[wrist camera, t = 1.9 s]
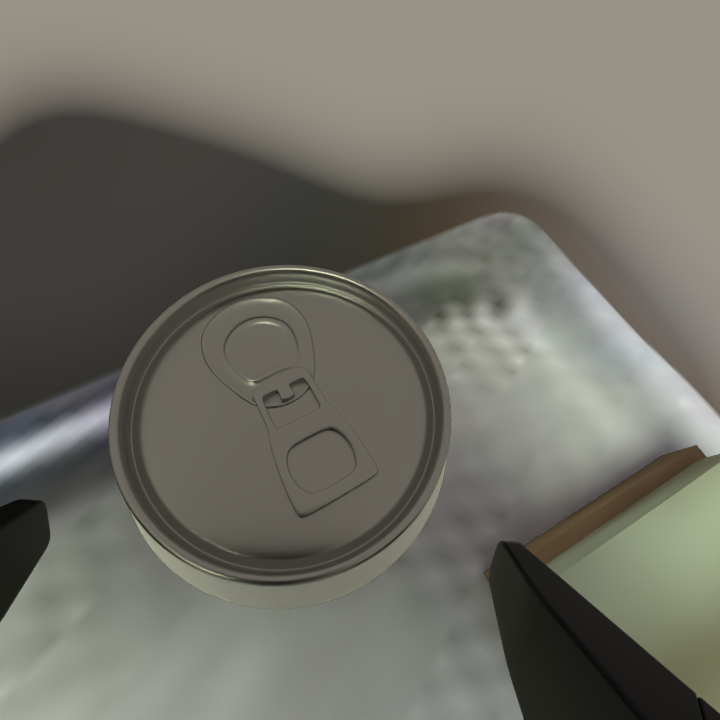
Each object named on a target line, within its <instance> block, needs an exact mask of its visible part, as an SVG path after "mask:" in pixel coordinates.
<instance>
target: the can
mask: <svg viewBox="0 0 720 720" xmlns="http://www.w3.org/2000/svg"><path fill="white" fill-rule="evenodd" d="M108 432H109V450H110V457H111V463H112V467H113V471H114V475H115V478H116V481H117V484H118V486H119V489H120V491H121V494H122V496H123V498H124V500H125V502H126V504H127V506H128V507H129V509H130V511H131V513H132V516H133V518H134V520H135V522H136V524H137V526H138V528H139V530H140V532H141V534H142V535H143V537H144V539H145V540H146V541H147V543H148V544H149V546H150V547H151V548H152V550H153V551H154V552H155V553H156V555H157V556H158V557H159V558H160V559H161V560H162V561H163V562H164V563H165V564H166V565H167V566H168V567H169V568H170V569H171V570H172V571H173V572H175V573H176V574H177V575H178V576H180V577H181V578H182V579H184V580H185V581H187V582H188V583H190V584H191V585H193V586H194V587H196V588H198V589H200V590H202V591H204V592H206V593H208V594H210V595H212V596H215V597H217V598H220V599H222V600H225V601H229V602H232V603H235V604H239V605H243V606H248V607H255V608H263V609H292V608H301V607H307V606H312V605H317V604H321V603H324V602H327V601H331V600H334V599H336V598H339V597H341V596H344V595H346V594H348V593H350V592H352V591H354V590H356V589H358V588H360V587H362V586H363V585H365V584H367V583H368V582H370V581H371V580H373V579H374V578H376V577H377V576H379V575H380V574H381V573H382V572H384V571H385V570H386V569H387V568H388V567H390V566H391V565H392V564H393V563H394V562H395V561H396V560H397V559H398V558H399V557H400V556H401V555H402V554H403V553H404V552H405V551H406V550H407V549H408V547H409V546H410V545H411V544H412V542H413V541H414V540H415V538H416V537H417V536H418V534H419V533H420V531H421V530H422V528H423V527H424V525H425V523H426V521H427V520H428V518H429V516H430V514H431V512H432V510H433V507H434V505H435V503H436V500H437V498H438V495H439V492H440V488H441V485H442V481H443V477H444V472H445V466H446V457H447V453H448V448H449V442H450V434H451V405H450V397H449V391H448V386H447V382H446V378H445V375H444V372H443V369H442V366H441V364H440V361H439V359H438V357H437V355H436V353H435V351H434V349H433V347H432V345H431V344H430V342H429V340H428V339H427V337H426V336H425V334H424V333H423V331H422V330H421V329H420V327H419V326H418V325H417V324H416V322H415V321H414V320H413V319H412V318H411V317H410V316H409V315H408V314H407V313H406V312H405V311H404V310H403V309H402V308H401V307H400V306H399V305H397V304H396V303H395V302H394V301H393V300H391V299H390V298H389V297H387V296H386V295H384V294H383V293H381V292H380V291H378V290H377V289H375V288H373V287H371V286H370V285H368V284H366V283H364V282H362V281H359V280H357V279H355V278H352V277H350V276H347V275H344V274H341V273H338V272H335V271H331V270H326V269H322V268H316V267H310V266H299V265H275V266H265V267H257V268H252V269H247V270H243V271H239V272H236V273H232V274H229V275H226V276H223V277H221V278H218V279H216V280H213V281H211V282H209V283H207V284H205V285H203V286H201V287H199V288H197V289H195V290H194V291H192V292H190V293H189V294H187V295H185V296H184V297H182V298H181V299H180V300H178V301H177V302H176V303H174V304H173V305H172V306H170V307H169V308H168V309H167V310H166V311H165V312H164V313H162V314H161V315H160V316H159V317H158V318H157V319H156V320H155V321H154V322H153V323H152V325H151V326H150V327H149V328H148V329H147V330H146V331H145V333H144V334H143V335H142V337H141V338H140V339H139V341H138V342H137V344H136V345H135V347H134V348H133V350H132V351H131V353H130V355H129V357H128V359H127V360H126V362H125V364H124V366H123V369H122V371H121V373H120V376H119V378H118V381H117V384H116V387H115V390H114V394H113V398H112V403H111V408H110V415H109V430H108Z"/></svg>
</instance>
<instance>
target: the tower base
mask: <svg viewBox="0 0 720 720" xmlns="http://www.w3.org/2000/svg"><path fill="white" fill-rule="evenodd" d="M525 547H526V548H527V549H528V550H529V551H531V552H532V553H533V554H534V555H535V556H536V557H538V558H539V559H540V560H541V561H542V562H543V563H545V564H546V565H547V566H548V567H549V568H550V569H552V570H553V571H554V572H555V573H556V574H557V575H559V576H560V577H561V578H562V579H563V580H564V581H566V582H567V583H568V584H569V585H570V586H571V587H573V588H574V589H575V590H576V591H577V592H578V593H580V594H581V595H582V596H583V597H584V598H585V599H587V600H588V601H589V602H590V603H591V604H592V605H594V606H595V607H596V608H597V609H598V610H599V611H601V612H602V613H603V614H604V615H605V616H606V617H608V618H609V619H610V620H611V621H612V622H613V623H615V624H616V625H617V626H618V627H619V628H620V629H622V630H623V631H624V632H625V633H626V634H627V635H629V636H630V637H631V638H632V639H633V640H634V641H636V642H637V643H638V644H639V645H640V646H642V647H643V648H644V649H645V650H646V651H647V652H649V653H650V654H651V655H652V656H653V657H654V658H656V659H657V660H658V661H659V662H660V663H661V664H663V665H664V666H665V667H666V668H667V669H668V670H670V671H671V672H672V673H673V674H674V675H675V676H677V677H678V678H679V679H680V680H681V681H682V682H684V683H685V684H686V685H687V686H688V687H689V688H691V689H692V690H693V691H694V692H695V693H696V695H697V698H698V697H701V698H702V699H704V700H705V701H706V702H707V703H708V704H709V705H711V706H712V707H713V708H714V709H715V710H716V711H718V712H719V713H720V454H718V455H714V456H711V457H706V456H705V455H704V454H703V452H702V451H701V450H700V449H699V448H698V446H697V445H695V446H692V447H689V448H685V449H682V450H679V451H676V452H673V453H669V454H666V455H663V456H661V457H660V458H658V459H657V460H655V461H653V462H652V463H650V464H649V465H647V466H646V467H644V468H643V469H641V470H640V471H638V472H637V473H635V474H634V475H632V476H631V477H629V478H627V479H626V480H624V481H623V482H621V483H620V484H618V485H617V486H615V487H614V488H612V489H611V490H609V491H608V492H606V493H604V494H603V495H601V496H600V497H598V498H597V499H595V500H594V501H592V502H591V503H589V504H588V505H586V506H585V507H583V508H582V509H580V510H578V511H577V512H575V513H574V514H572V515H571V516H569V517H568V518H566V519H565V520H563V521H562V522H560V523H559V524H557V525H555V526H554V527H552V528H551V529H549V530H548V531H546V532H545V533H543V534H542V535H540V536H539V537H537V538H536V539H534V540H533V541H531V542H529V543H528V544H526V545H525ZM489 571H490V569H488V570H487V571H485V572H484V574H485V575H486V577H487V579H488V581H489Z"/></svg>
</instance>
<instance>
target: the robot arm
mask: <svg viewBox="0 0 720 720" xmlns="http://www.w3.org/2000/svg"><path fill="white" fill-rule="evenodd" d="M49 540H50V528H49V521H48V513H47V507H46V504H45V503H44V502H43V501H41V500H32V499H18V500H15V501H13V502H11V503H8V504H6V505H3V506H1V507H0V622H1V620H2V619H3V617H4V616H5V614H6V613H7V611H8V609H9V608H10V606H11V605H12V603H13V601H14V600H15V598H16V597H17V595H18V593H19V592H20V590H21V589H22V587H23V585H24V584H25V582H26V580H27V579H28V577H29V576H30V574H31V572H32V571H33V569H34V568H35V566H36V564H37V563H38V561H39V560H40V558H41V556H42V555H43V553H44V551H45V550H46V548H47V546H48V544H49ZM489 584H490V589H491V593H492V598H493V603H494V607H495V612H496V617H497V622H498V626H499V631H500V636H501V640H502V645H503V650H504V654H505V658H506V662H507V666H508V669H509V673H510V676H511V680H512V683H513V686H514V689H515V692H516V695H517V699H518V702H519V705H520V708H521V711H522V715H523V718H524V720H720V713H719V712H718V711H716V710H715V709H714V708H713V707H712V706H711V705H709V704H708V703H707V702H706V701H705V700H704V699H702V698H701V697H698V698H697V695H696V693H695V692H694V691H693V690H692V689H691V688H689V687H688V686H687V685H686V684H685V683H684V682H682V681H681V680H680V679H679V678H678V677H677V676H675V675H674V674H673V673H672V672H671V671H670V670H668V669H667V668H666V667H665V666H664V665H663V664H661V663H660V662H659V661H658V660H657V659H656V658H654V657H653V656H652V655H651V654H650V653H649V652H647V651H646V650H645V649H644V648H643V647H642V646H640V645H639V644H638V643H637V642H636V641H634V640H633V639H632V638H631V637H630V636H629V635H627V634H626V633H625V632H624V631H623V630H622V629H620V628H619V627H618V626H617V625H616V624H615V623H613V622H612V621H611V620H610V619H609V618H608V617H606V616H605V615H604V614H603V613H602V612H601V611H599V610H598V609H597V608H596V607H595V606H594V605H592V604H591V603H590V602H589V601H588V600H587V599H585V598H584V597H583V596H582V595H581V594H580V593H578V592H577V591H576V590H575V589H574V588H573V587H571V586H570V585H569V584H568V583H567V582H566V581H564V580H563V579H562V578H561V577H560V576H559V575H557V574H556V573H555V572H554V571H553V570H552V569H550V568H549V567H548V566H547V565H546V564H545V563H543V562H542V561H541V560H540V559H539V558H538V557H536V556H535V555H534V554H533V553H532V552H531V551H529V550H528V549H527V548H526V547H525V546H524V545H522V544H521V543H519V542H513V541H500V542H499V543H498V544H497V547H496V550H495V553H494V557H493V560H492V564H491V567H490V571H489Z"/></svg>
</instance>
